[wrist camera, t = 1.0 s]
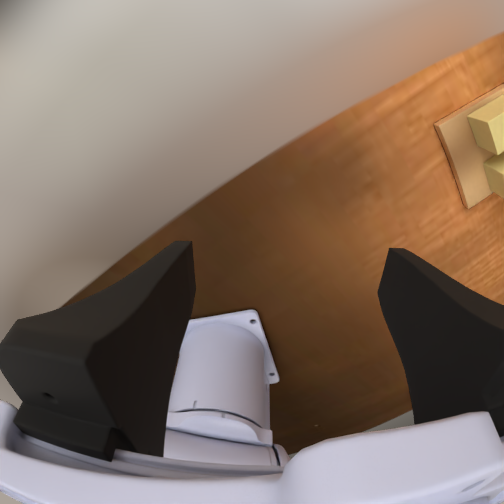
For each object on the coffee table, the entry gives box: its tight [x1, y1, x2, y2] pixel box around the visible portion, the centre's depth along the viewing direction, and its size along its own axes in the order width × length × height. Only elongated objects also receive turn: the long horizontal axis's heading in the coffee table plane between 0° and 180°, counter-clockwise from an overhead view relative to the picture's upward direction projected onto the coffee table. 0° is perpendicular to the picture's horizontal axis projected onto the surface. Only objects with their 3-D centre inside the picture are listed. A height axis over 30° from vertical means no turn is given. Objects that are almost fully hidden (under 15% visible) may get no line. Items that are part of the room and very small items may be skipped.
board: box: [434, 83, 504, 209], centre depth 17 cm, size 7×10×1 cm
